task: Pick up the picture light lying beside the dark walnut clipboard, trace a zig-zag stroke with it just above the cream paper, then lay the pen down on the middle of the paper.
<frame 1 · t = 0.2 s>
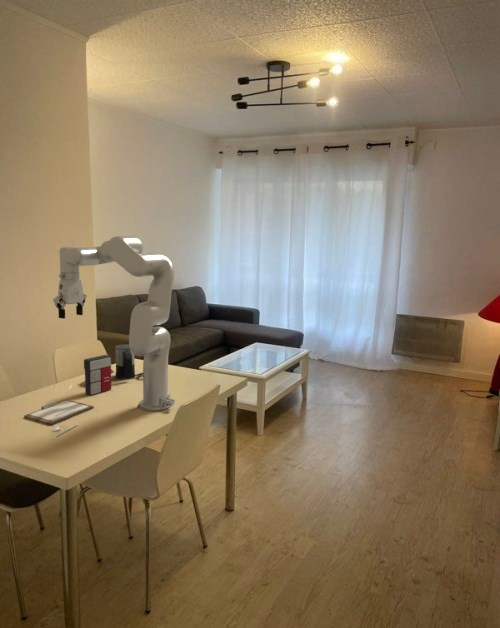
hand: (70, 316, 205), 31 cm above the table, tool pointing down, fingers open, 9 cm apart
picture light: (61, 432, 164), on the table
clipboard: (60, 412, 179), on the table
milk frother: (134, 377, 227), on the table
grey and red box: (98, 392, 204), on the table
tape dispenser: (98, 382, 217), on the table
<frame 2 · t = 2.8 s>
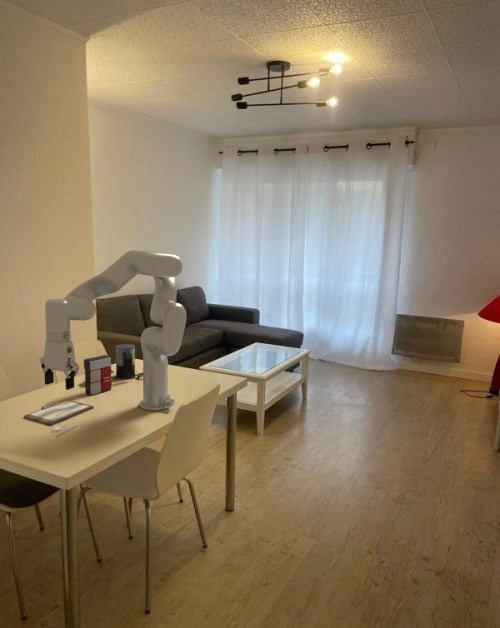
hand: (59, 386, 161), 16 cm above the table, tool pointing down, fingers open, 9 cm apart
nothing on the table moved.
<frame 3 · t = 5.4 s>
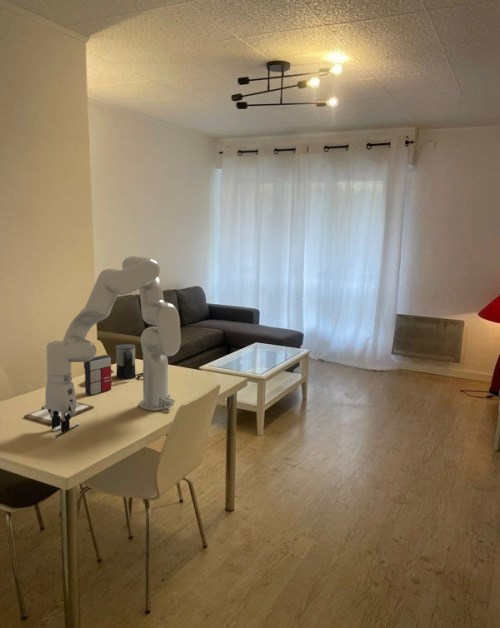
hand: (60, 429, 164), 1 cm above the table, tool pointing down, fingers closed on picture light, 3 cm apart
picture light: (62, 431, 164), on the table, touching gripper
everything else where it was.
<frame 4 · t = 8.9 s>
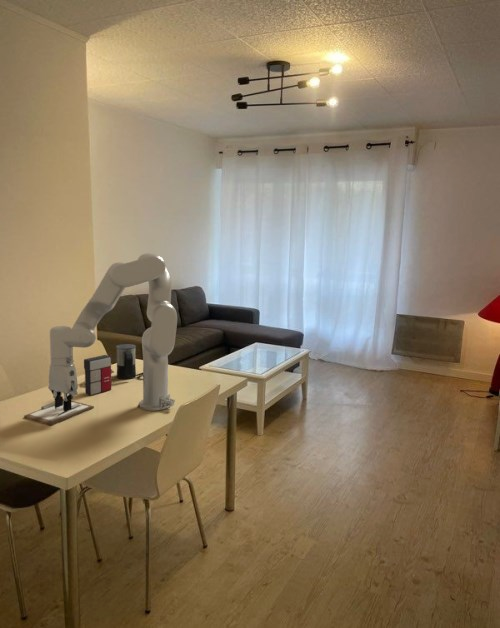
hand: (63, 408, 175), 3 cm above the table, tool pointing down, fingers closed on picture light, 3 cm apart
picture light: (64, 410, 175), point 2 cm above the table, touching gripper
everything else where it was.
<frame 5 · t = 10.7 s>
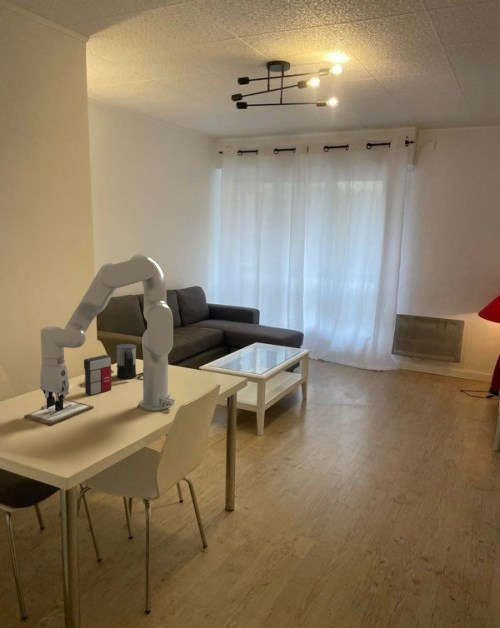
hand: (55, 408, 177), 3 cm above the table, tool pointing down, fingers closed on picture light, 3 cm apart
picture light: (56, 410, 177), point 2 cm above the table, touching gripper
everything else where it was.
when the fingers open (2 cm above the table, at t = 12.4 s): picture light stays where it is, resting on clipboard.
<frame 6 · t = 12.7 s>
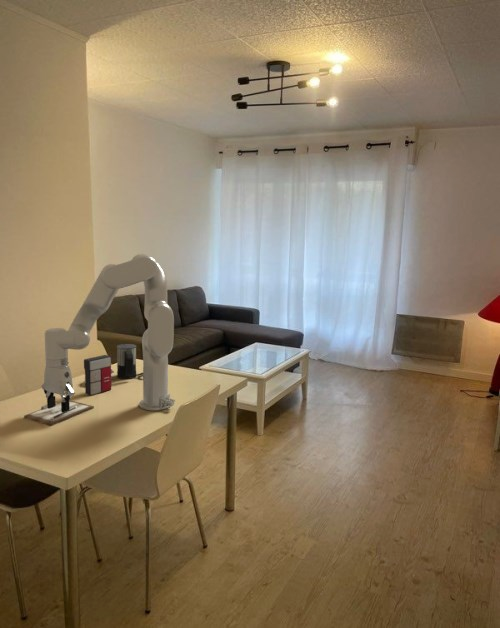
hand: (58, 409, 177), 2 cm above the table, tool pointing down, fingers open, 6 cm apart
picture light: (60, 413, 177), point 1 cm above the table, touching clipboard
everything else where it was.
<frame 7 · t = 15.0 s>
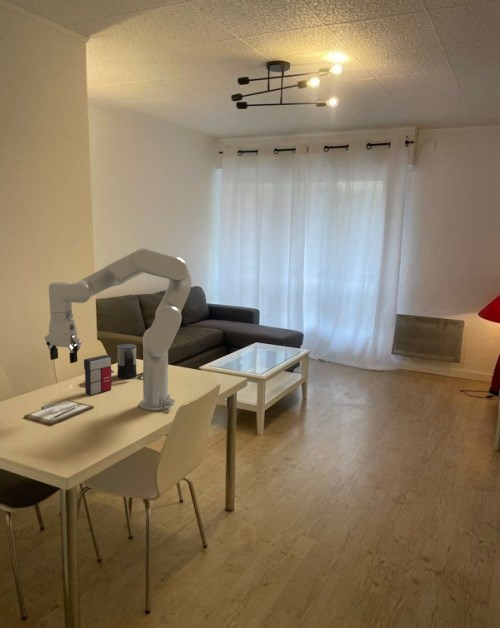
hand: (64, 360, 180), 19 cm above the table, tool pointing down, fingers open, 9 cm apart
nothing on the table moved.
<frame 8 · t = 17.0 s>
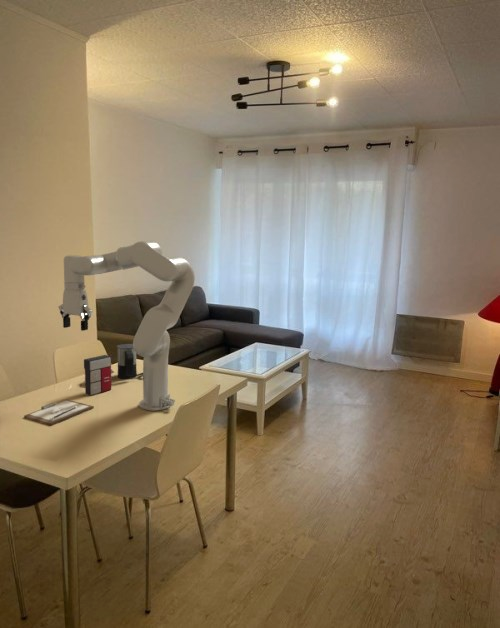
hand: (75, 328, 194), 28 cm above the table, tool pointing down, fingers open, 9 cm apart
nothing on the table moved.
at the end: picture light inside the target area on the clipboard (2.5 cm from its centre), point 0.8 cm above the clipboard's base; the gripper is holding nothing; picture light moved 14.5 cm from its start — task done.
